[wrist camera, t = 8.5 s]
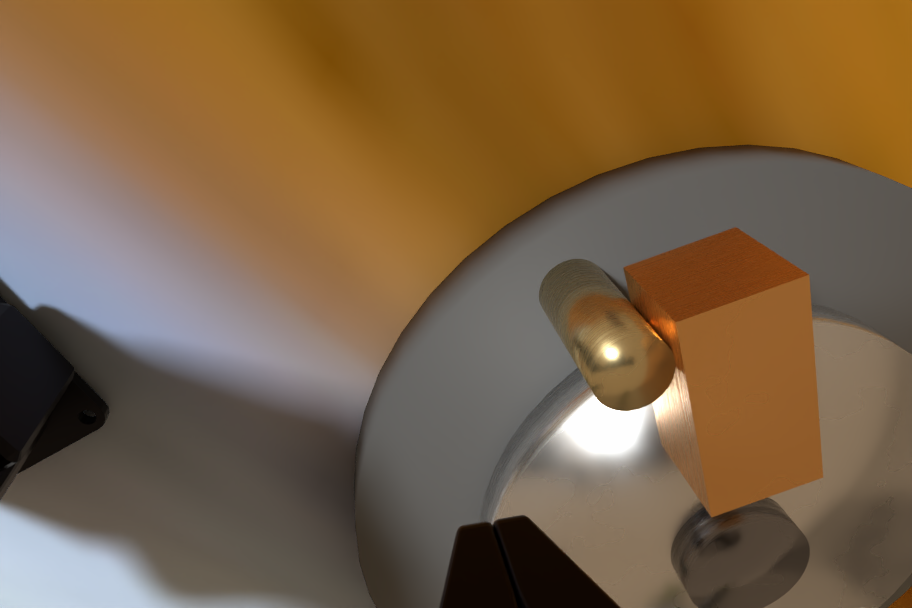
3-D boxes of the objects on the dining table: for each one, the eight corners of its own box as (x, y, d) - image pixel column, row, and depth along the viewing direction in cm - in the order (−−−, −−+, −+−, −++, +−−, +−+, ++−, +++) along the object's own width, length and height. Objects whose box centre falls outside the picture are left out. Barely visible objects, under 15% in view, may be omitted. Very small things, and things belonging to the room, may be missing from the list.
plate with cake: (919, 579, 27) (1021, 686, 23) (543, 713, 27) (579, 843, 23) (930, 126, 18) (1098, 171, 14) (375, 324, 19) (387, 425, 14)
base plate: (524, 745, 32) (535, 790, 30) (208, 385, 21) (197, 423, 19) (1003, 516, 30) (1044, 551, 28) (926, -10, 19) (986, -8, 18)
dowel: (555, 333, 20) (609, 425, 16) (527, 280, 19) (578, 363, 15) (616, 301, 20) (686, 385, 16) (591, 246, 19) (658, 320, 15)
